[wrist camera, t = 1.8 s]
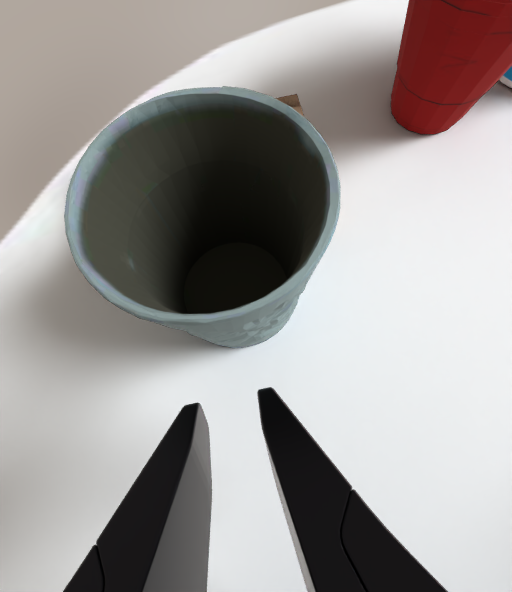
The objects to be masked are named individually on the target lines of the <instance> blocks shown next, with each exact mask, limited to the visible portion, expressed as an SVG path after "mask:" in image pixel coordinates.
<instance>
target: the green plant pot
mask: <svg viewBox="0 0 512 592" xmlns="http://www.w3.org/2000/svg"><path fill="white" fill-rule="evenodd" d="M339 211H340V181H339V175H338V170H337V167H336V164H335V162H334V159H333V156H332V153H331V151H330V149H329V147H328V146H327V144H326V142H325V141H324V139H323V138H322V136H321V135H320V133H319V132H318V131H317V130H316V129H315V128H314V127H313V125H312V124H311V123H310V122H309V121H308V120H307V119H306V118H304V117H303V116H302V115H301V114H299V113H298V112H297V111H296V110H294V109H293V108H292V107H290V106H288V105H286V104H284V103H282V102H281V101H279V100H277V99H275V98H273V97H271V96H268V95H265V94H262V93H258V92H255V91H252V90H248V89H245V88H236V87H226V86H223V87H210V88H193V89H184V90H178V91H172V92H168V93H165V94H162V95H159V96H156V97H154V98H152V99H150V100H148V101H146V102H144V103H142V104H140V105H138V106H136V107H134V108H132V109H130V110H129V111H127V112H126V113H124V114H123V115H121V116H120V117H119V118H117V119H116V120H114V121H113V122H112V123H111V124H110V125H109V126H107V127H106V128H105V129H104V130H103V131H102V132H101V133H100V134H99V135H98V136H97V137H96V139H95V140H94V141H93V142H92V143H91V144H90V146H89V147H88V149H87V150H86V152H85V153H84V155H83V156H82V158H81V159H80V161H79V163H78V165H77V167H76V169H75V172H74V174H73V176H72V178H71V181H70V185H69V188H68V192H67V196H66V205H65V214H64V218H65V229H66V235H67V239H68V242H69V246H70V249H71V252H72V255H73V257H74V260H75V263H76V265H77V266H78V268H79V269H80V271H81V272H82V273H83V275H84V276H85V278H86V279H87V281H88V282H89V283H90V284H91V285H92V286H93V287H94V288H95V289H96V290H97V291H98V292H99V293H100V294H101V295H102V296H103V297H104V298H105V299H107V300H108V301H110V302H111V303H113V304H114V305H116V306H117V307H119V308H120V309H122V310H124V311H126V312H128V313H130V314H132V315H134V316H136V317H138V318H141V319H145V320H149V321H152V322H155V323H158V324H161V325H164V326H167V327H170V328H174V329H179V330H185V331H187V332H188V333H189V334H190V335H193V336H198V337H200V338H202V339H204V340H206V341H209V342H211V343H214V344H217V345H221V346H227V347H232V348H242V347H248V346H253V345H256V344H259V343H261V342H264V341H266V340H268V339H269V338H271V337H272V336H274V335H275V334H276V333H278V332H279V331H280V330H281V329H282V328H283V327H284V325H285V324H286V323H287V321H288V320H289V318H290V317H291V315H292V313H293V311H294V309H295V306H296V304H297V301H298V299H299V295H300V294H301V293H302V292H303V291H304V289H305V286H306V284H307V282H308V280H309V279H310V277H311V275H312V273H313V271H314V270H315V268H316V266H317V264H318V263H319V261H320V259H321V258H322V256H323V254H324V252H325V251H326V249H327V247H328V245H329V243H330V241H331V238H332V236H333V234H334V231H335V228H336V225H337V221H338V217H339Z"/></svg>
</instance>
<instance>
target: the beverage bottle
mask: <svg viewBox="0 0 512 592" xmlns="http://www.w3.org/2000/svg"><path fill="white" fill-rule="evenodd" d="M499 80H500V81H501V82H502V83H504V84H505V85H507V86H508V87H510V88H512V66H511V67H510V68H509V69H508V70H507V71H506V73H505V74H504V75H503V76H502V77H501V78H500V79H499Z"/></svg>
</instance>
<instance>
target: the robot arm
mask: <svg viewBox="0 0 512 592" xmlns="http://www.w3.org/2000/svg"><path fill="white" fill-rule="evenodd" d="M257 394H258V402H259V410H260V418H261V425H262V430H263V434H264V438H265V443H266V447H267V451H268V455H269V459H270V463H271V467H272V471H273V475H274V479H275V482H276V486H277V490H278V493H279V496H280V500H281V503H282V507H283V510H284V513H285V517H286V520H287V524H288V527H289V530H290V534H291V537H292V540H293V544H294V547H295V551H296V554H297V557H298V561H299V564H300V568H301V571H302V574H303V578H304V581H305V584H306V588H307V591H308V592H448V591H447V590H446V589H445V588H444V587H443V586H442V585H441V584H440V583H439V582H438V581H437V580H436V579H435V578H434V577H433V576H432V575H431V574H430V573H429V572H428V571H427V570H426V569H425V568H424V567H423V566H422V565H421V564H420V563H419V562H418V561H417V560H416V559H415V558H414V557H413V556H412V555H411V554H410V552H409V551H408V550H407V549H406V548H405V547H404V546H403V545H402V544H401V543H400V542H399V541H398V540H397V539H396V538H395V537H394V535H393V534H392V533H391V532H390V531H389V530H388V529H387V528H386V527H385V526H384V524H383V523H382V522H381V521H380V520H379V519H378V517H377V516H376V515H375V514H374V513H373V512H372V510H371V509H370V508H369V507H368V506H367V504H366V503H365V502H364V501H363V499H362V498H361V497H360V496H359V494H358V493H357V492H356V491H355V490H354V489H353V490H352V486H351V485H350V484H349V482H348V481H347V480H346V479H345V477H344V476H343V475H342V474H341V472H340V471H339V470H338V469H337V467H336V466H335V465H334V464H333V462H332V461H331V460H330V459H329V457H328V456H327V455H326V454H325V452H324V451H323V450H322V449H321V447H320V446H319V445H318V444H317V442H316V441H315V440H314V439H313V437H312V436H311V435H310V434H309V432H308V431H307V430H306V429H305V427H304V426H303V425H302V424H301V422H300V421H299V420H298V419H297V417H296V416H295V415H294V414H293V412H292V411H291V410H290V409H289V407H288V406H287V405H286V404H285V402H284V401H283V400H282V399H281V397H280V396H279V395H278V394H277V392H276V391H275V390H274V389H273V388H271V387H269V388H264V389H260V390H258V392H257ZM211 504H212V478H211V459H210V439H209V427H208V423H207V420H206V418H205V415H204V412H203V409H202V407H201V405H200V403H193V404H189V405H185V406H184V407H183V408H182V409H181V411H180V413H179V414H178V416H177V417H176V419H175V420H174V422H173V423H172V425H171V426H170V428H169V430H168V431H167V433H166V434H165V436H164V437H163V439H162V440H161V442H160V443H159V445H158V447H157V448H156V450H155V451H154V453H153V454H152V456H151V457H150V459H149V460H148V462H147V464H146V465H145V467H144V468H143V470H142V471H141V473H140V474H139V476H138V477H137V479H136V481H135V482H134V484H133V485H132V487H131V488H130V490H129V491H128V493H127V495H126V496H125V498H124V499H123V501H122V502H121V504H120V505H119V507H118V508H117V510H116V512H115V513H114V515H113V516H112V518H111V519H110V521H109V522H108V524H107V525H106V527H105V529H104V530H103V532H102V533H101V535H100V536H99V538H98V539H97V541H96V544H97V545H94V546H93V547H92V548H91V550H90V551H89V553H88V555H87V556H86V558H85V559H84V561H83V562H82V564H81V565H80V567H79V568H78V570H77V571H76V573H75V574H74V576H73V577H72V579H71V580H70V582H69V583H68V585H67V586H66V588H65V589H64V591H63V592H207V575H208V557H209V540H210V522H211Z"/></svg>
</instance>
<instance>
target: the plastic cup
mask: <svg viewBox="0 0 512 592" xmlns="http://www.w3.org/2000/svg"><path fill="white" fill-rule="evenodd" d="M511 66H512V0H409V4H408V9H407V14H406V19H405V24H404V30H403V35H402V40H401V45H400V50H399V55H398V61H397V72H396V76H395V81H394V85H393V90H392V94H391V112H392V115H393V116H394V118H395V119H396V121H397V122H398V123H399V124H400V125H402V126H403V127H404V128H406V129H407V130H409V131H413V132H416V133H419V134H437V133H440V132H443V131H446V130H448V129H449V128H450V127H451V126H452V125H454V124H455V123H456V122H457V121H459V120H460V119H461V118H462V117H463V116H464V115H465V114H466V113H467V112H468V111H469V109H470V108H471V107H472V106H473V105H474V104H475V103H476V102H477V101H478V100H479V99H480V98H481V97H482V96H483V95H484V94H485V93H486V92H487V91H489V90H490V89H491V88H492V87H493V85H494V84H495V83H496V82H497V81H498V80H499V79H500V78H501V77H502V76H503V75H504V74H505V73H506V71H507V70H508V69H509V68H510V67H511Z"/></svg>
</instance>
